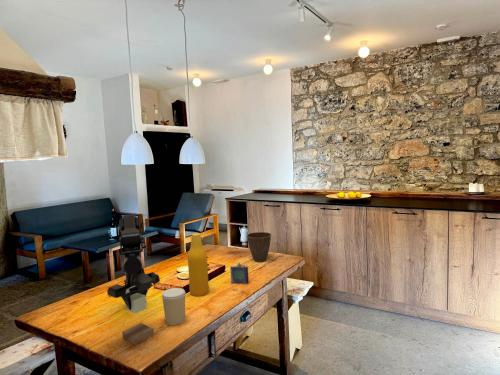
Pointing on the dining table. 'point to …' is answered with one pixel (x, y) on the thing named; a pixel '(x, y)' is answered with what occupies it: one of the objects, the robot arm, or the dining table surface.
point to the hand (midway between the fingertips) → (136, 306)
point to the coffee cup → (174, 306)
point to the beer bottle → (197, 267)
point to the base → (137, 333)
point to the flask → (239, 274)
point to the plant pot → (259, 245)
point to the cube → (137, 303)
